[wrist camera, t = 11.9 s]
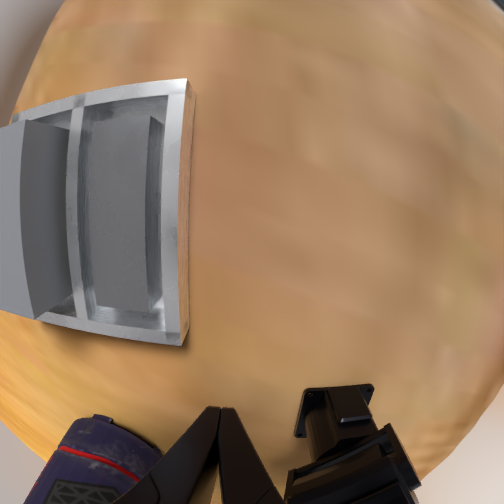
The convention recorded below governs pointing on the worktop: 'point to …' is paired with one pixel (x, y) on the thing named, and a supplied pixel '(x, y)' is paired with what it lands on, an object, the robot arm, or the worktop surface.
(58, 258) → the panel
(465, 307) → the worktop surface
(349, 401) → the robot arm
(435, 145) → the worktop surface
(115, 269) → the rack
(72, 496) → the grenade
